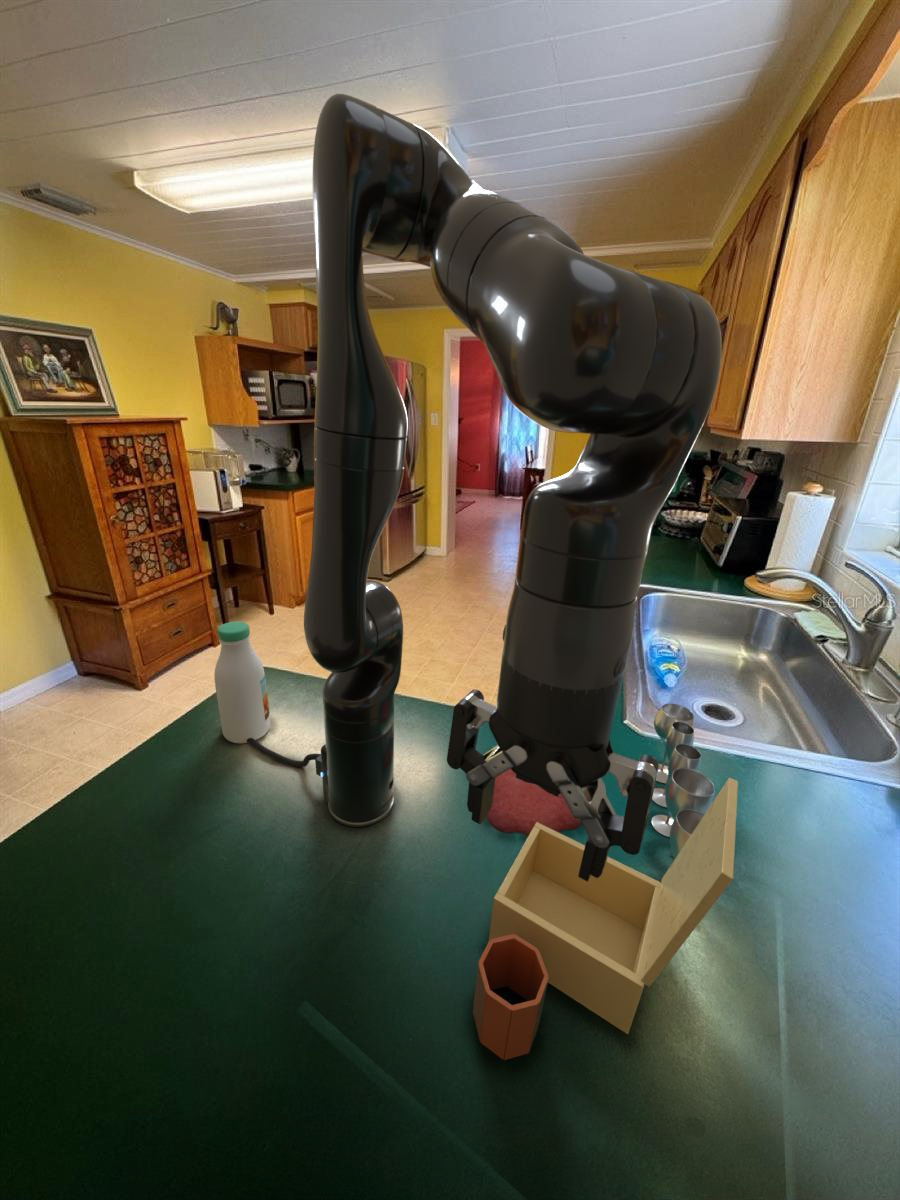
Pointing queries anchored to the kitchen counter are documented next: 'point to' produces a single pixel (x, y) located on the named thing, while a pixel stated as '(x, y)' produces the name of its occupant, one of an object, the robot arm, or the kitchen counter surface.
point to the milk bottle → (240, 686)
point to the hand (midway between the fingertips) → (530, 841)
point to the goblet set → (680, 778)
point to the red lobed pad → (527, 807)
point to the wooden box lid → (693, 881)
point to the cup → (495, 1017)
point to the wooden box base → (580, 922)
